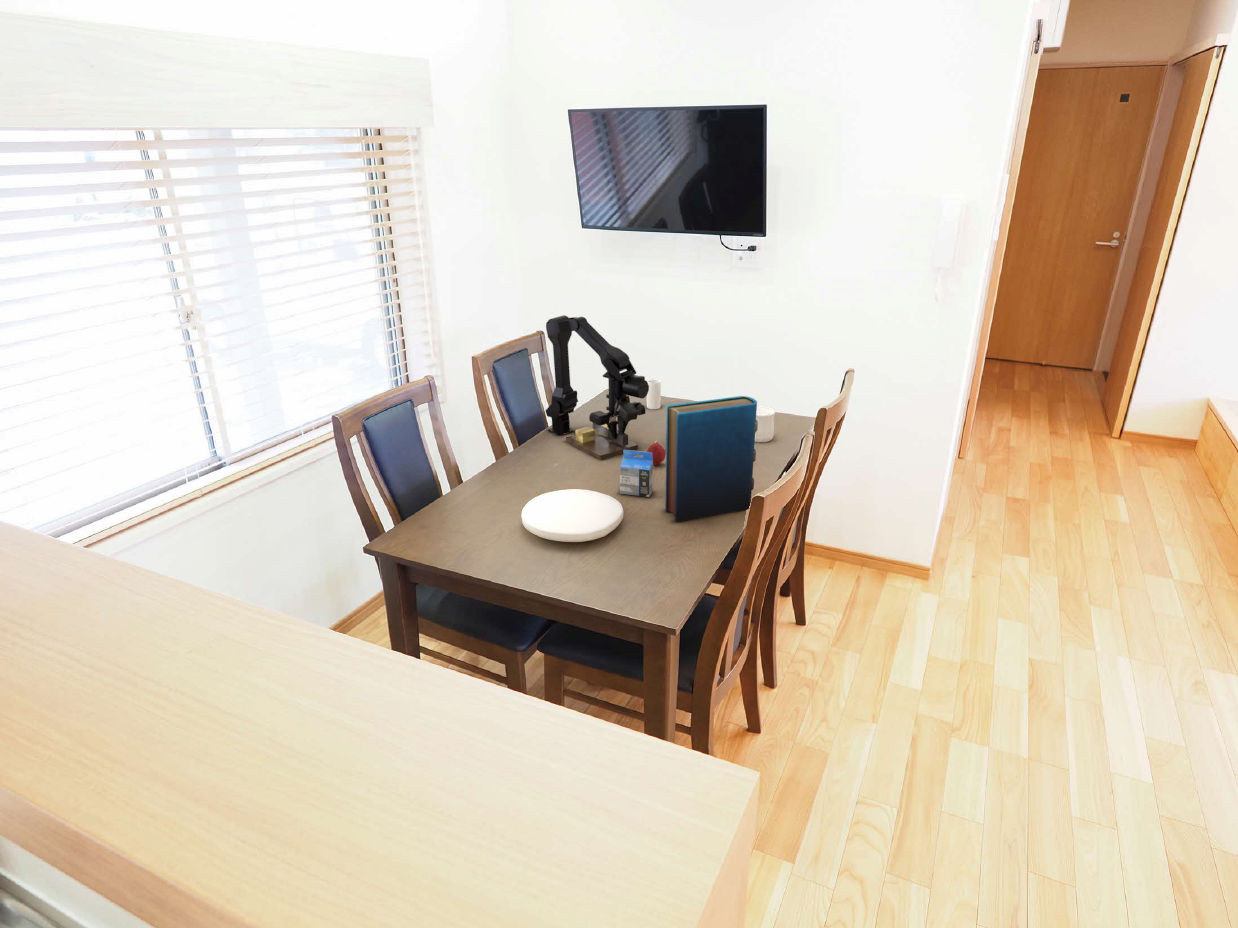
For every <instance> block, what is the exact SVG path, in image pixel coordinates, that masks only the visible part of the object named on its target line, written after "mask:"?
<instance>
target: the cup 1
mask: <svg viewBox="0 0 1238 928" xmlns="http://www.w3.org/2000/svg"><path fill="white" fill-rule="evenodd" d="M646 381H647V382H648V385H649V391H648V394H647V396H646V408H647V409H648V410H659V409H661V403H662V402H661V400H662V399H661V397H662V395H661V394H662V393H661V391H662V389H661V387H662V381H661V379H657V378H651V379H647V380H646Z"/></svg>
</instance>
